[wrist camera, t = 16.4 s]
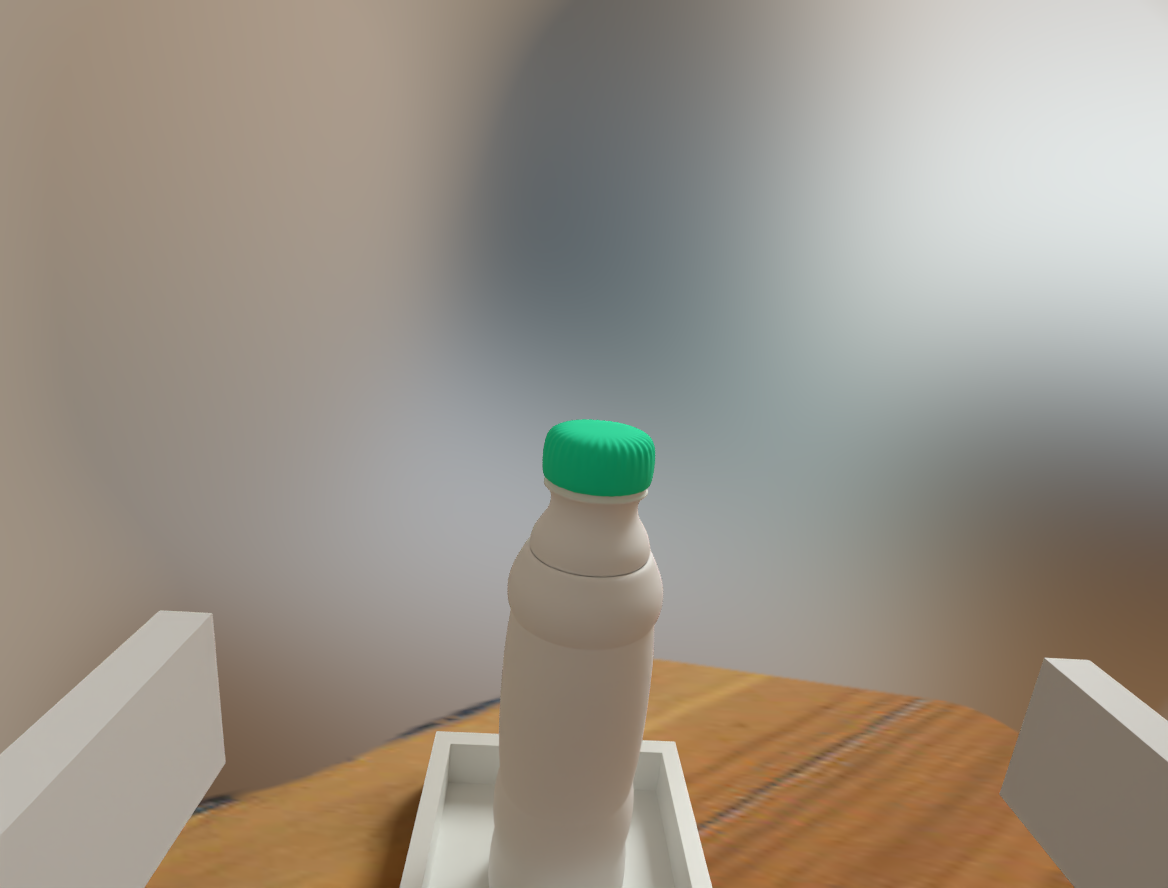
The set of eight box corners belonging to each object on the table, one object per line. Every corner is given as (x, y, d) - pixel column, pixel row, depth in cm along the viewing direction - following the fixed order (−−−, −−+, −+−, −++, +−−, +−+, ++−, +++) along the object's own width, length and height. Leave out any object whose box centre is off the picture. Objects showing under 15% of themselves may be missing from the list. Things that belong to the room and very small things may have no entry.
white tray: (667, 786, 42) (675, 741, 41) (728, 1060, 28) (741, 1002, 27) (434, 777, 41) (436, 731, 40) (373, 1057, 27) (373, 997, 26)
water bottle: (513, 975, 30) (557, 458, 23) (471, 849, 36) (496, 409, 29) (645, 921, 33) (720, 450, 26) (586, 813, 39) (633, 407, 32)
